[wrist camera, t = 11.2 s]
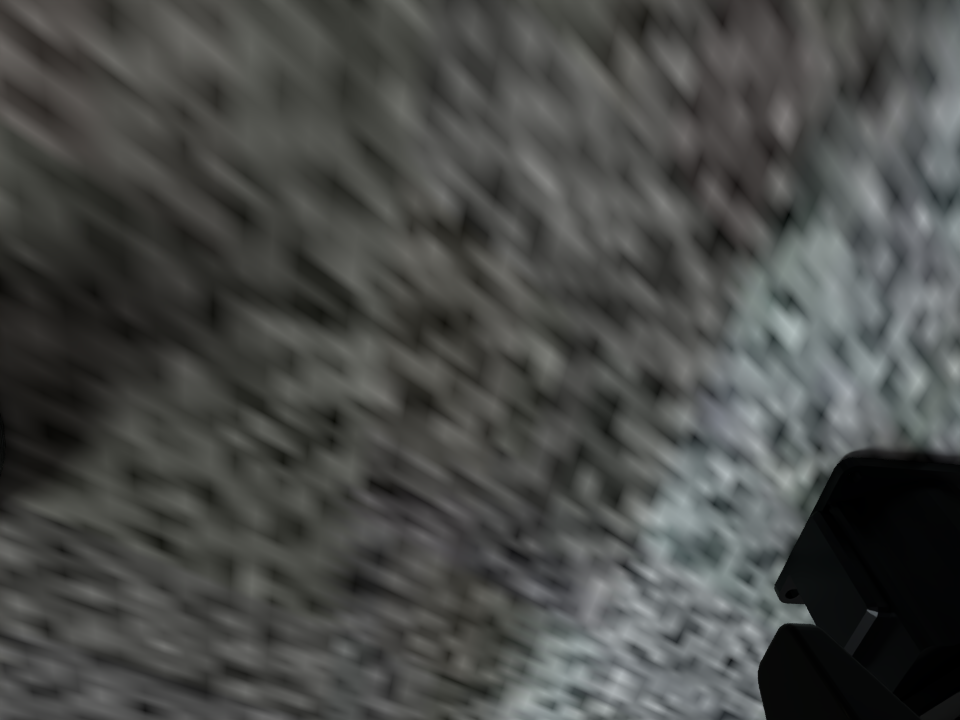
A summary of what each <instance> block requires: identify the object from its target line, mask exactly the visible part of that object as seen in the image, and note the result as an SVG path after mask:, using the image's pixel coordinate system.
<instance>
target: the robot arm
mask: <svg viewBox="0 0 960 720" xmlns="http://www.w3.org/2000/svg"><path fill="white" fill-rule="evenodd" d="M852 472H854V473H852ZM850 473H852V474H850ZM849 474H850V475H849ZM774 589H775V592H776V594H777V596H778V598H779V600H780V601H781V602H783V603H791V604H805V605H806V607H807V609H808V611H809V613H810V615H811V616H812V618H813V620H814V622H815V624H816V625H812V624H796V623H787V624H784V625H782V626H781V627H780V628H779V629H778V631H777V632H776V634H775V636H774V638H773V640H772V642H771V644H770V645H769V647H768V649H767V651H766V653H765V655H764V657H763V659H762V660H761V662H760V665H759V670H758V684H759V689H760V694H761V698H762V702H763V707H764V711H765V715H766V720H960V465H950V464H937V463H924V462H910V461H897V460H884V459H870V458H857V457H853V458H847V459H845V460H842V461H841V462H840V463H838V464H837V466H836V467H835V468H834V470H833V472H832V474H831V476H830V478H829V480H828V482H827V484H826V486H825V488H824V490H823V492H822V494H821V496H820V498H819V500H818V502H817V504H816V505H815V507H814V509H813V511H812V513H811V515H810V517H809V519H808V521H807V523H806V525H805V527H804V529H803V531H802V533H801V535H800V537H799V539H798V541H797V543H796V545H795V546H794V548H793V550H792V552H791V554H790V556H789V558H788V560H787V562H786V564H785V566H784V568H783V570H782V572H781V574H780V576H779V578H778V580H777V582H776V584H775V587H774Z"/></svg>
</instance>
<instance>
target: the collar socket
mask: <svg viewBox="0 0 960 720" xmlns="http://www.w3.org/2000/svg"><path fill="white" fill-rule="evenodd" d="M4 456H5V436H4V427H3V422H2V418H1V415H0V475H1V471H2V468H3V464H4Z"/></svg>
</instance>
